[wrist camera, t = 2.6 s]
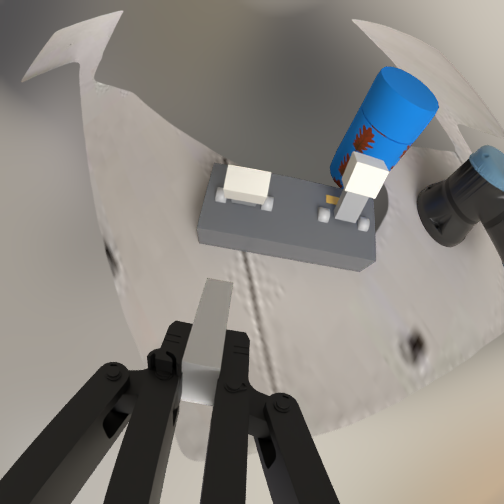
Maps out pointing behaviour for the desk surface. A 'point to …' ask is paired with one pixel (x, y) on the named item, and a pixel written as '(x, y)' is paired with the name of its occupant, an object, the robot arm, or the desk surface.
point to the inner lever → (359, 185)
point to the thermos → (386, 120)
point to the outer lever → (246, 185)
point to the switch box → (288, 223)
